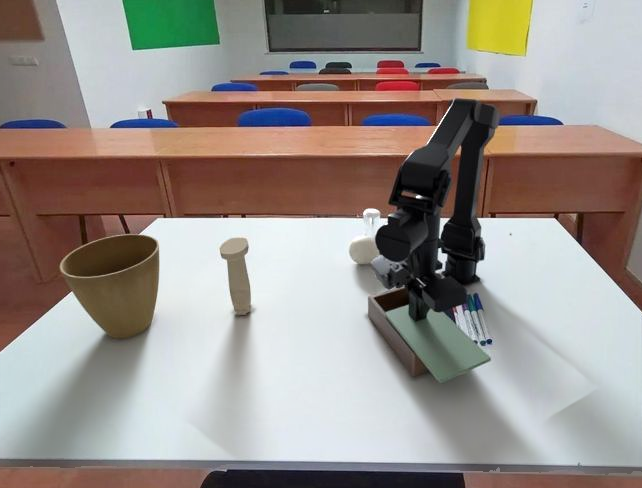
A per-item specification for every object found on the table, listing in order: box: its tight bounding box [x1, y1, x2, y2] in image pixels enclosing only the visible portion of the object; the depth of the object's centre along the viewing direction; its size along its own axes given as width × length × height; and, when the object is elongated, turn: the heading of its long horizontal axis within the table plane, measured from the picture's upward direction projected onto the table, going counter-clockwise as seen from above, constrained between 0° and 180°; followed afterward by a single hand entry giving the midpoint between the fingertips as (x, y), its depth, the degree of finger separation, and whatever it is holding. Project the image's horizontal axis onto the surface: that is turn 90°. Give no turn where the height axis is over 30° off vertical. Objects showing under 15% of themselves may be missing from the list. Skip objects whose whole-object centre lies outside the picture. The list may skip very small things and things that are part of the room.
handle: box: [219, 237, 252, 316], centre depth 77 cm, size 5×6×15 cm
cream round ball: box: [348, 235, 379, 265], centre depth 96 cm, size 7×7×7 cm
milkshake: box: [362, 208, 384, 241], centre depth 106 cm, size 5×5×10 cm
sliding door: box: [385, 290, 492, 384], centre depth 65 cm, size 10×17×6 cm, turn 27°
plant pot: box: [59, 233, 160, 340], centre depth 73 cm, size 15×15×16 cm
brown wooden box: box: [367, 286, 430, 377], centre depth 72 cm, size 10×17×4 cm, turn 27°
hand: (417, 312), depth 70 cm, fingers closed on sliding door, 2 cm apart
